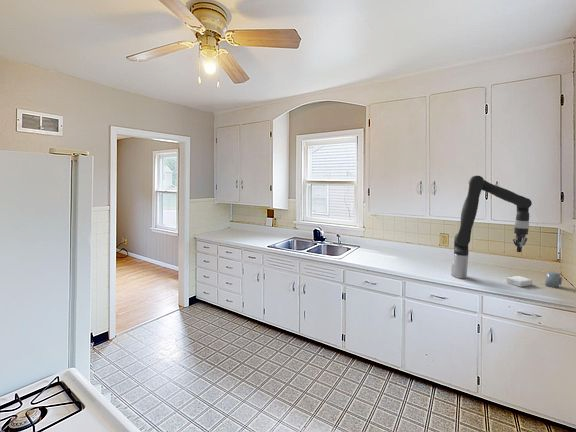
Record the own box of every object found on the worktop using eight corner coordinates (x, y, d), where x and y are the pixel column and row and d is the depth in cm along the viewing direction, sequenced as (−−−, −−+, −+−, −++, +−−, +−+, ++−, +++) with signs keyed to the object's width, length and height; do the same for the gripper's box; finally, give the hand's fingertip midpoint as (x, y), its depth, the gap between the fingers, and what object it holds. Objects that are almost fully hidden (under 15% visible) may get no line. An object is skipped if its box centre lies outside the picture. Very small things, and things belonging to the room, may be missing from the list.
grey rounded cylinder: (545, 286, 203) (547, 273, 202) (544, 283, 209) (545, 271, 208) (561, 289, 198) (563, 276, 197) (559, 285, 204) (561, 273, 203)
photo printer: (506, 276, 211) (519, 275, 214) (505, 282, 211) (519, 280, 214) (521, 281, 201) (534, 279, 204) (520, 287, 201) (534, 285, 205)
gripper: (521, 225, 209) (518, 249, 212) (509, 226, 204) (507, 251, 206) (533, 227, 203) (530, 252, 205) (522, 228, 197) (519, 254, 199)
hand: (518, 251), depth 206 cm, fingers closed
